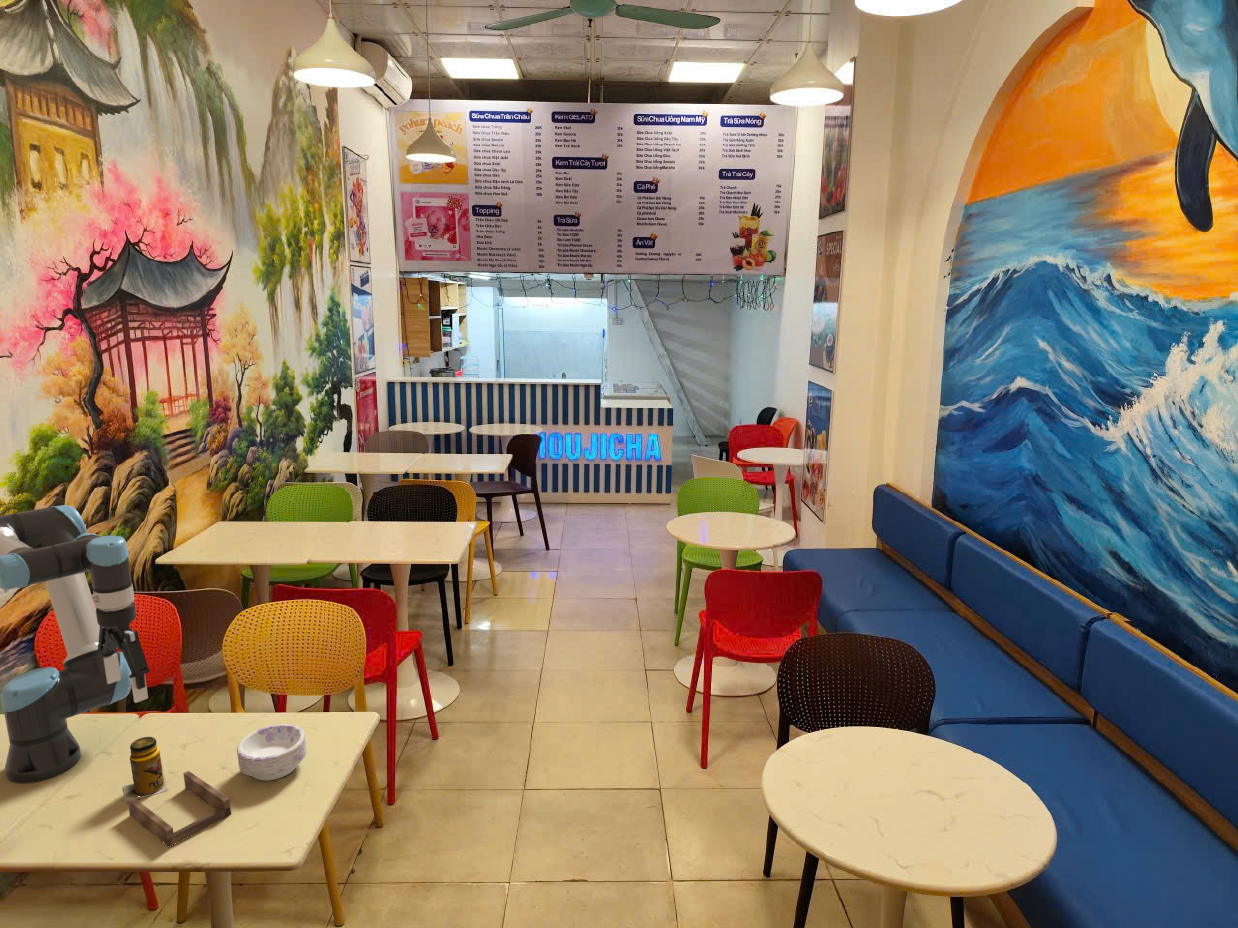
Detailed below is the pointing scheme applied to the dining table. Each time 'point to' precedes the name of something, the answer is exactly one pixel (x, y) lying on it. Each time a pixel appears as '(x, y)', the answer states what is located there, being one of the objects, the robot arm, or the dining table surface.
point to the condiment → (145, 769)
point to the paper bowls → (272, 751)
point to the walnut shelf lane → (170, 838)
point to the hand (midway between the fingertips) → (127, 690)
